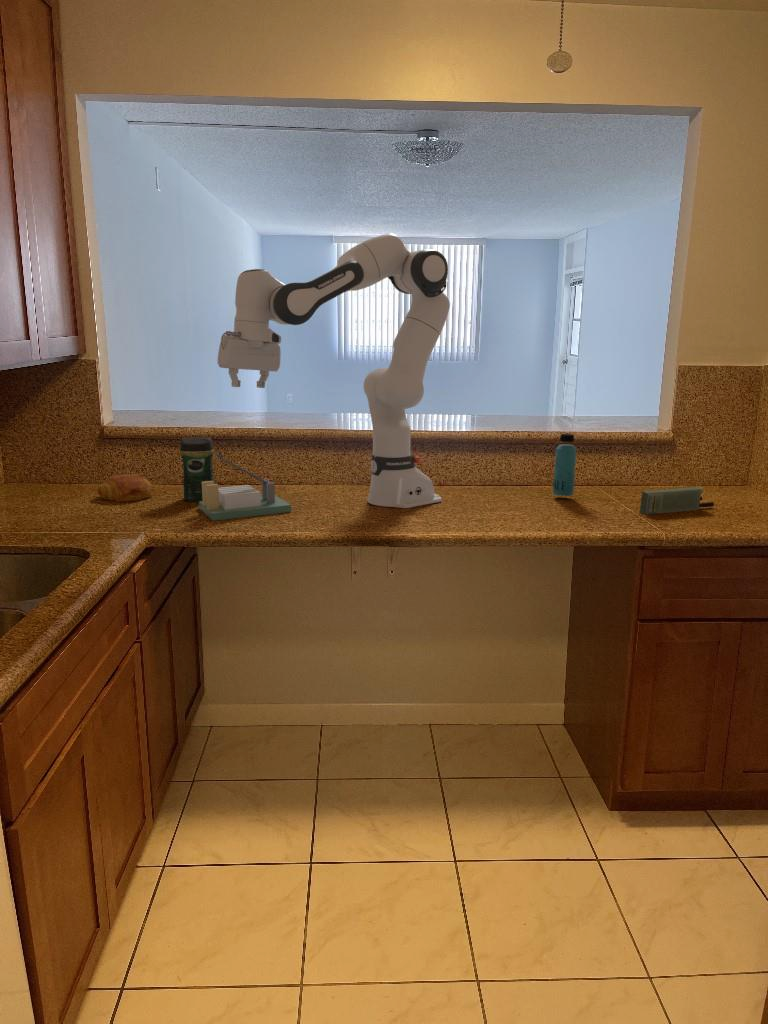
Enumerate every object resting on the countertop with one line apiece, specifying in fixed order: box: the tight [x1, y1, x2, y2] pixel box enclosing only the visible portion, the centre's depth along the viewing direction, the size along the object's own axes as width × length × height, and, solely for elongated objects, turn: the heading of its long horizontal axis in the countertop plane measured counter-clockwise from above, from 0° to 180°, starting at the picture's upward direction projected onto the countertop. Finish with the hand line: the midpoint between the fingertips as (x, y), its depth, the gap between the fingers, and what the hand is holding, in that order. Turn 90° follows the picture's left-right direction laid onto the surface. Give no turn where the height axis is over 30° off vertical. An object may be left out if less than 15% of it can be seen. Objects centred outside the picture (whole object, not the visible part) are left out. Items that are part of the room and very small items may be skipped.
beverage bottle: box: [552, 433, 578, 497], centre depth 211 cm, size 6×7×20 cm
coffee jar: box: [179, 436, 216, 502], centre depth 205 cm, size 10×8×19 cm
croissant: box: [97, 473, 153, 503], centre depth 208 cm, size 14×16×8 cm
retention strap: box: [213, 451, 272, 486], centre depth 192 cm, size 18×3×2 cm
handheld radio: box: [639, 486, 715, 515], centre depth 199 cm, size 7×3×25 cm
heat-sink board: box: [198, 479, 292, 522], centre depth 194 cm, size 22×15×9 cm
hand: (248, 387), depth 183 cm, fingers open, 8 cm apart
